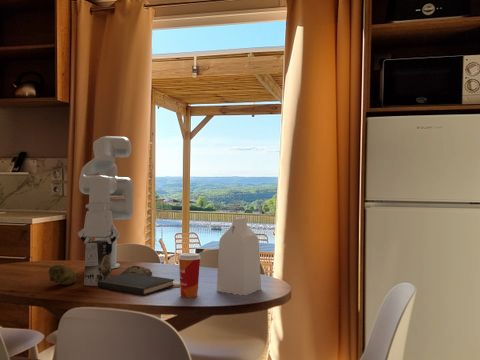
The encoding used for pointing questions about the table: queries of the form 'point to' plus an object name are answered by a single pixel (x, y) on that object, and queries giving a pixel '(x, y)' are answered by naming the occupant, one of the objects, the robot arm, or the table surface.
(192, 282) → the paper cup
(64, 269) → the potato
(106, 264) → the coffee box
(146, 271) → the bread roll
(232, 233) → the milk
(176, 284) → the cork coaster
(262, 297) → the table surface
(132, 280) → the hardcover book
